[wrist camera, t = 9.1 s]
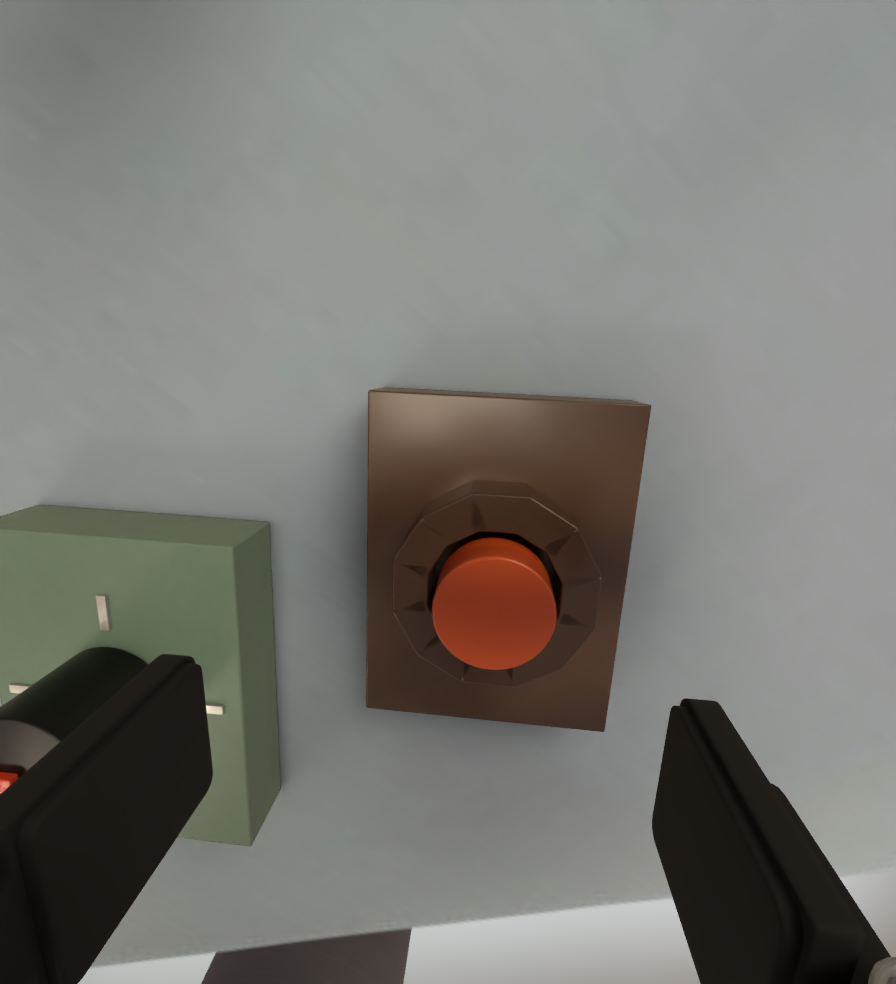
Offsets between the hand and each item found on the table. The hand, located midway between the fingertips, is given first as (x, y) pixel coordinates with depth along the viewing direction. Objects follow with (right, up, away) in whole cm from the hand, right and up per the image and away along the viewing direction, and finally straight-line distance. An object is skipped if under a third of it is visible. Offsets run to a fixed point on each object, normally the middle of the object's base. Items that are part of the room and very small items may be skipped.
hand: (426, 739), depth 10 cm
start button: (+2, +2, +6) cm, 7 cm away
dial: (-12, -3, +9) cm, 16 cm away
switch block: (+2, +3, +10) cm, 10 cm away
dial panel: (-12, -2, +12) cm, 17 cm away
